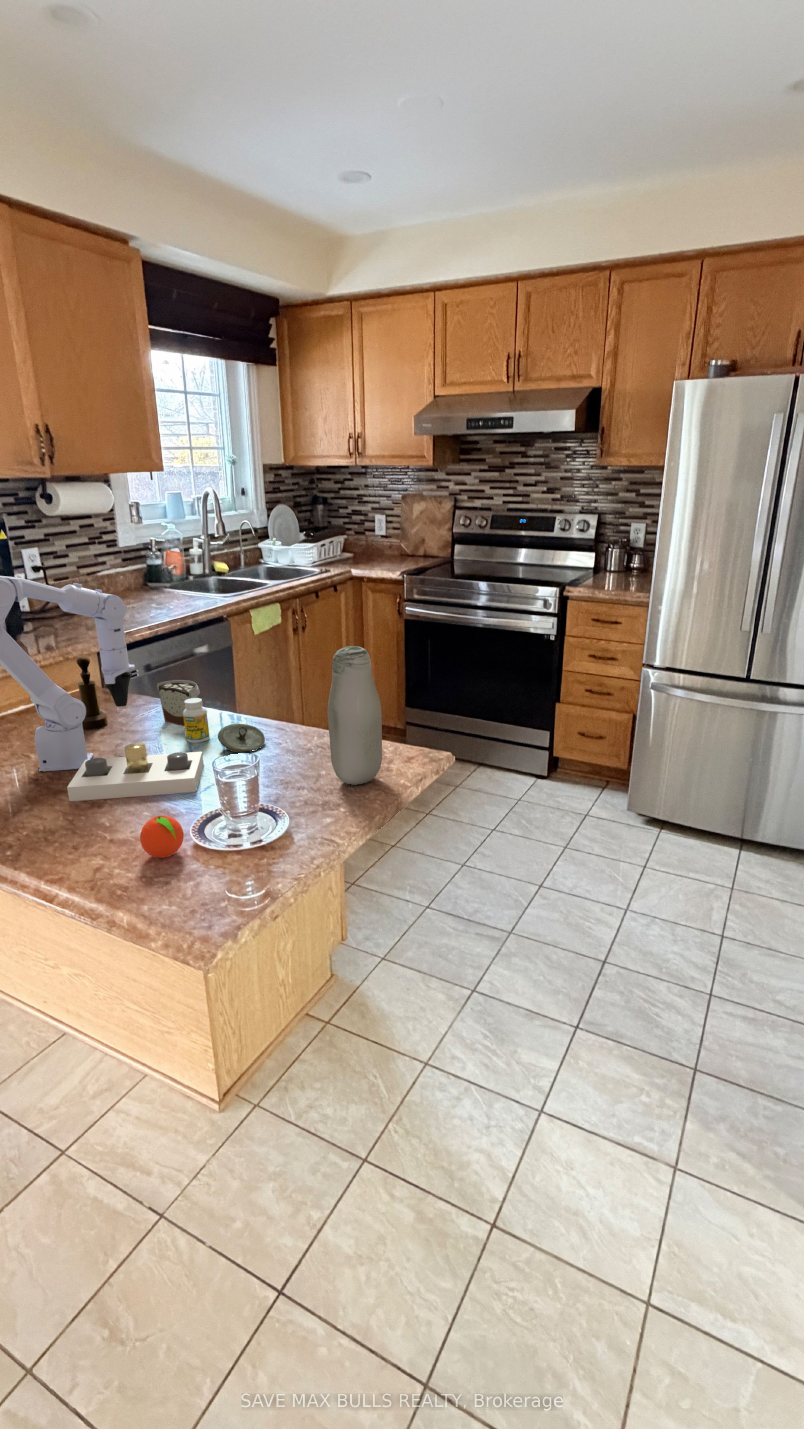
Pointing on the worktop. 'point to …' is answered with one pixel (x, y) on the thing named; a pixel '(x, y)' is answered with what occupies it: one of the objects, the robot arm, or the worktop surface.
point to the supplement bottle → (195, 721)
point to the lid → (241, 737)
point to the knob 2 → (178, 761)
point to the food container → (176, 699)
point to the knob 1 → (96, 767)
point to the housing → (136, 779)
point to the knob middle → (136, 758)
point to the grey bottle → (354, 717)
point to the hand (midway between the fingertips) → (121, 705)
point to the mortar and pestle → (90, 697)
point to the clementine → (161, 836)
